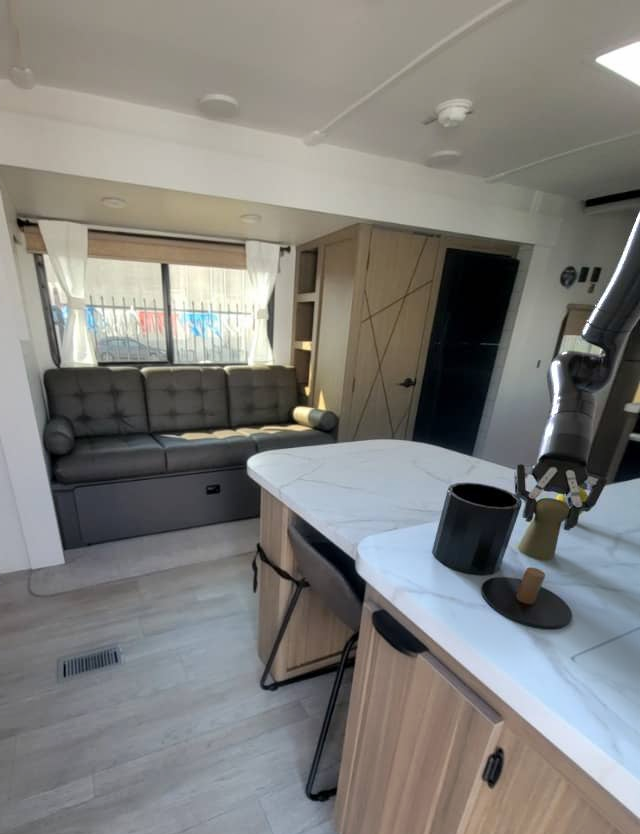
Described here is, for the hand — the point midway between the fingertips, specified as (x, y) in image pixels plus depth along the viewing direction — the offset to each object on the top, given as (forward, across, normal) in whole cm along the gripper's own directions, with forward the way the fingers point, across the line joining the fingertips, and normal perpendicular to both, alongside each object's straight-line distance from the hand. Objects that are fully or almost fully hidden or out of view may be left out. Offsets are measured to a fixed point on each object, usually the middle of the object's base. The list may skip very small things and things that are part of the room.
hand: (548, 524), depth 72 cm
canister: (+11, -11, 0) cm, 16 cm away
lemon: (-11, +7, +22) cm, 26 cm away
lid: (+17, -2, -8) cm, 19 cm away
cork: (+4, 0, +6) cm, 8 cm away
